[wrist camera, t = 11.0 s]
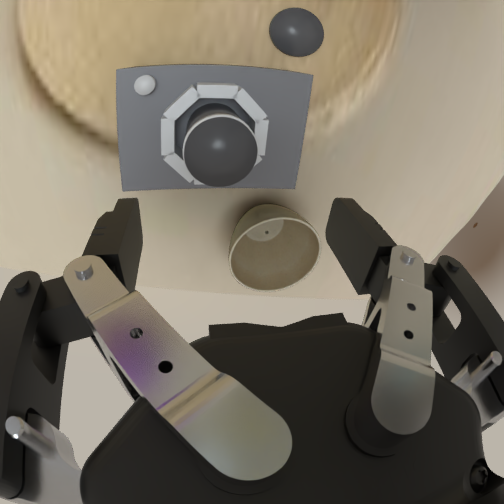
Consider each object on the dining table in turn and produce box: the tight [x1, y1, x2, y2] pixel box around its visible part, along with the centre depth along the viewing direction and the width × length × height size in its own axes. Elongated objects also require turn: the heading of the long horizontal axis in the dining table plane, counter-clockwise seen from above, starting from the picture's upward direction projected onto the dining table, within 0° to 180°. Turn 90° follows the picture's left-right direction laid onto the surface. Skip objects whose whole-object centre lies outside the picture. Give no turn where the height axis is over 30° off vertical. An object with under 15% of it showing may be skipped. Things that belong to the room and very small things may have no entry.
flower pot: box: [229, 204, 321, 292], centre depth 34 cm, size 10×10×7 cm
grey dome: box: [269, 8, 324, 56], centre depth 23 cm, size 6×6×1 cm
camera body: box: [116, 64, 313, 191], centre depth 24 cm, size 16×11×8 cm
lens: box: [183, 103, 258, 187], centre depth 20 cm, size 5×5×7 cm
